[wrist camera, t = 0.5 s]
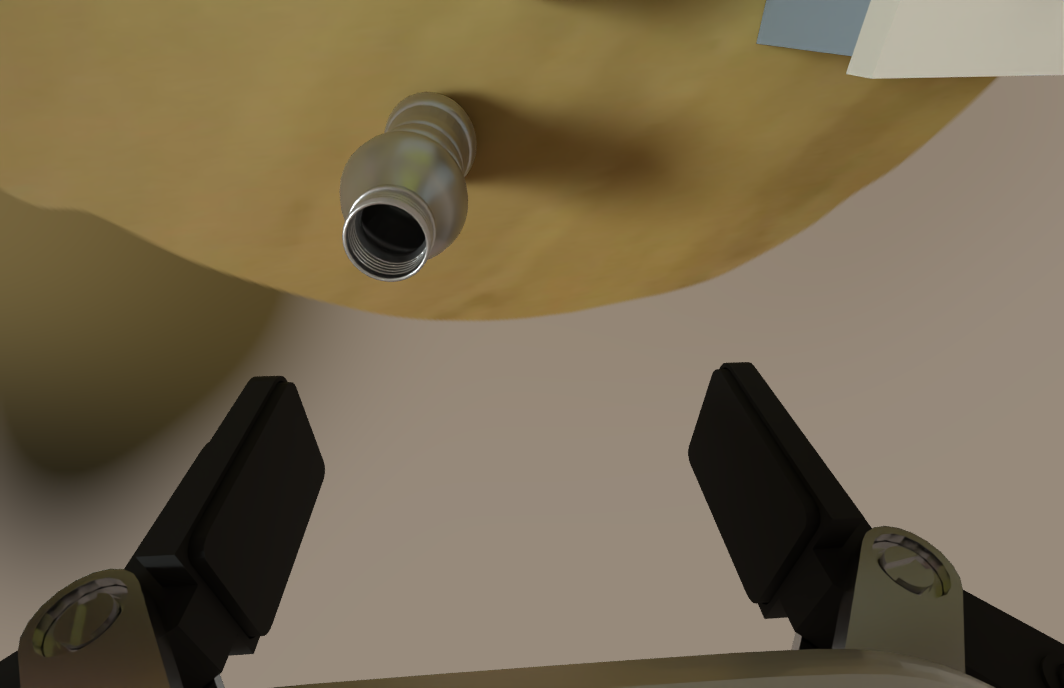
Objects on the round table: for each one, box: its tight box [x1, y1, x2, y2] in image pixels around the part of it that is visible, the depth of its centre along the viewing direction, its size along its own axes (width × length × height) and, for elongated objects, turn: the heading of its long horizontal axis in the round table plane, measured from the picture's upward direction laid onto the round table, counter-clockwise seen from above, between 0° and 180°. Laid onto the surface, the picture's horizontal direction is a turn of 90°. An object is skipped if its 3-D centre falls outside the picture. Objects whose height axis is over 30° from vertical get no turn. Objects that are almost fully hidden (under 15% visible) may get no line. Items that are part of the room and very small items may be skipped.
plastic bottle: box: [340, 92, 477, 282], centre depth 27 cm, size 6×7×20 cm
